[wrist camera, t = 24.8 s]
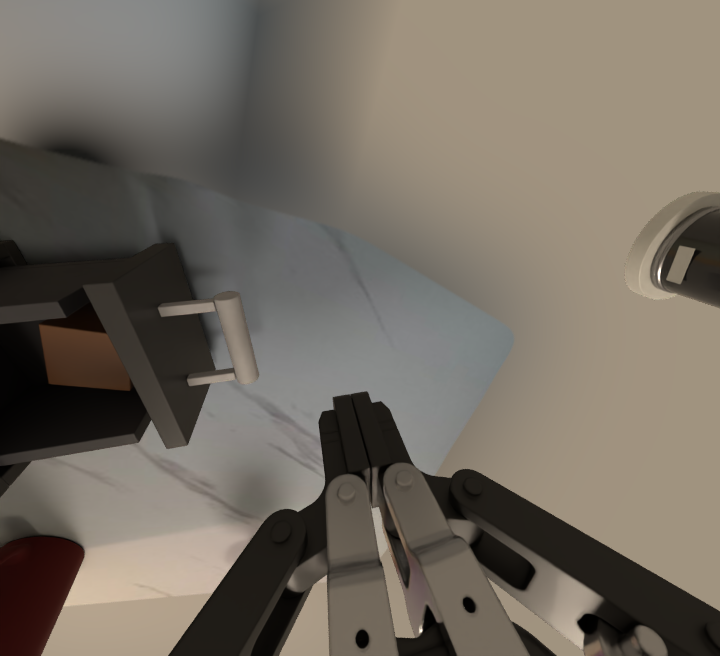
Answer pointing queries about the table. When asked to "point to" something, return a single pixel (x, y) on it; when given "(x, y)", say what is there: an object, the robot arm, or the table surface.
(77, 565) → the mug
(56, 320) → the block
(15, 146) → the table surface
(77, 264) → the drawer
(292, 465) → the table surface
